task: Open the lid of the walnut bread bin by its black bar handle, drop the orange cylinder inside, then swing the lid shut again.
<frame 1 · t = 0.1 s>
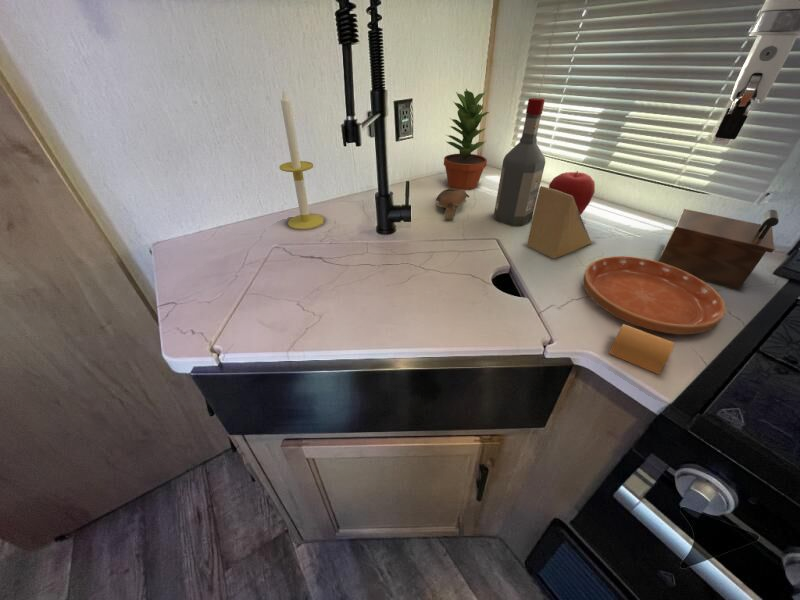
hand: (726, 134, 70), 26 cm above the worktop, tool pointing down, fingers open, 9 cm apart
saucer: (642, 302, 68), on the worktop
candle: (306, 222, 98), on the worktop
orange cylinder: (635, 355, 56), on the worktop
toy tortoise: (451, 208, 107), on the worktop
bread bin: (698, 266, 79), on the worktop
sandwich container: (559, 244, 88), on the worktop
liquor: (512, 219, 100), on the worktop
potted plant: (461, 185, 125), on the worktop
bread lid: (729, 218, 72), point 12 cm above the worktop, hinge at 0.0°
apple: (562, 218, 101), on the worktop
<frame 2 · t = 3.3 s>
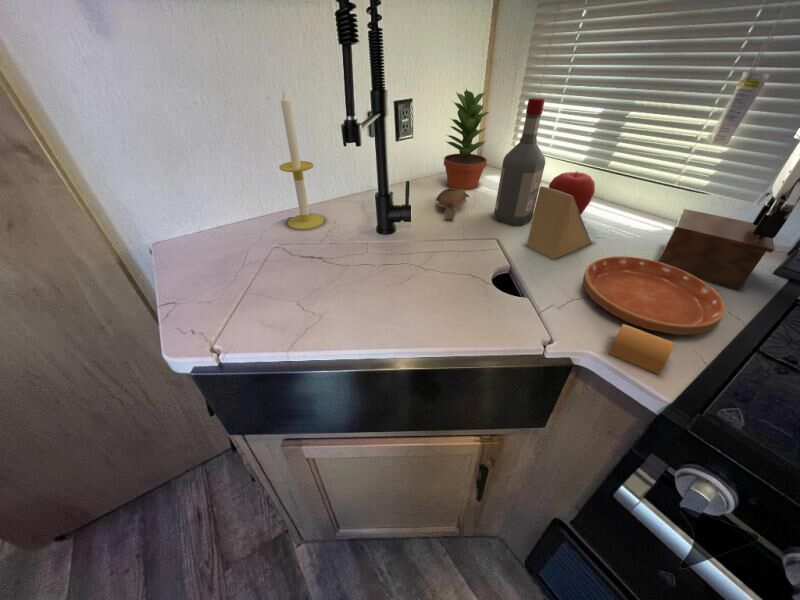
hand: (763, 229, 69), 11 cm above the worktop, tool pointing down, fingers closed on bread lid, 5 cm apart
bread lid: (729, 218, 72), point 12 cm above the worktop, hinge at 0.0°, touching gripper
everything else where it was.
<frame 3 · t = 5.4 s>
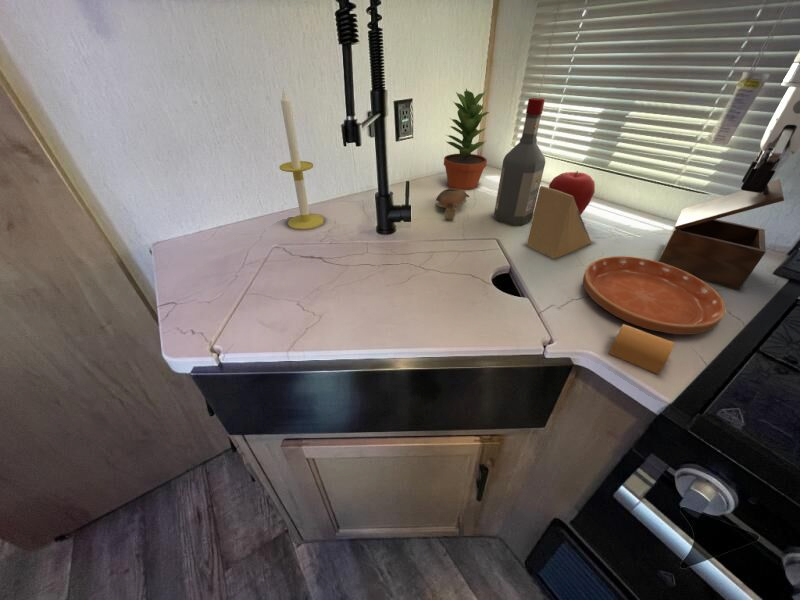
hand: (751, 186, 68), 18 cm above the worktop, tool pointing down, fingers closed on bread lid, 5 cm apart
bread lid: (723, 195, 71), point 16 cm above the worktop, hinge at 36.8°, touching gripper
everything else where it was.
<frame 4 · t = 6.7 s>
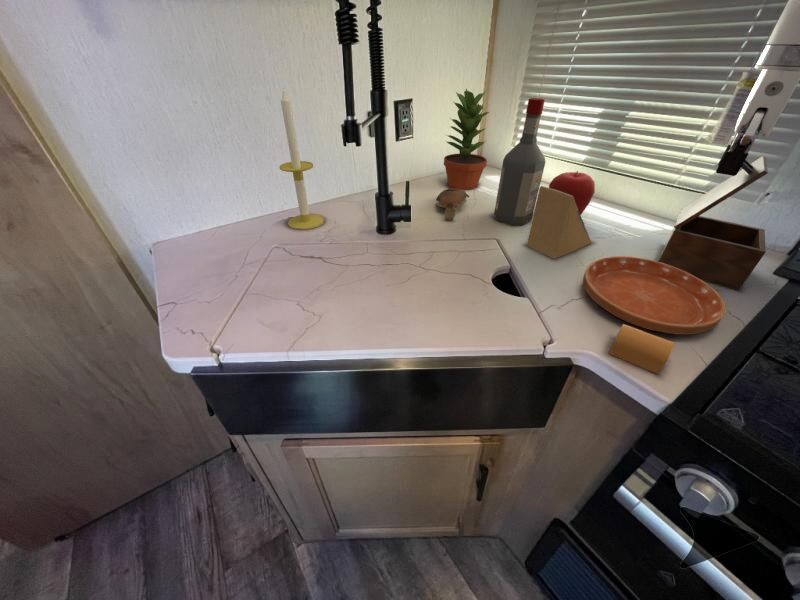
hand: (726, 169, 69), 21 cm above the worktop, tool pointing down, fingers closed on bread lid, 5 cm apart
bread lid: (710, 186, 71), point 17 cm above the worktop, hinge at 57.7°, touching gripper
everything else where it was.
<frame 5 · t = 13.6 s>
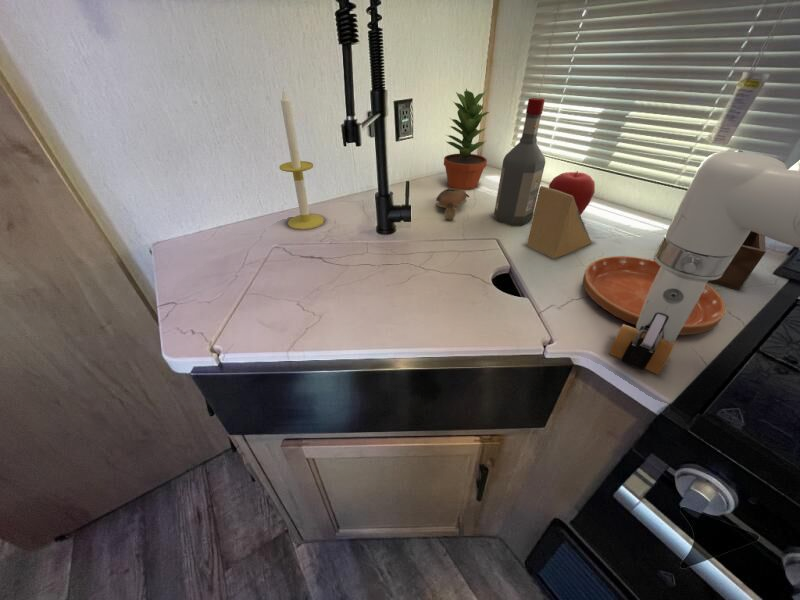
hand: (636, 354, 56), 0 cm above the worktop, tool pointing down, fingers closed on orange cylinder, 4 cm apart
orange cylinder: (635, 356, 56), on the worktop, touching gripper
bread lid: (710, 186, 71), point 17 cm above the worktop, hinge at 57.8°
everything else where it was.
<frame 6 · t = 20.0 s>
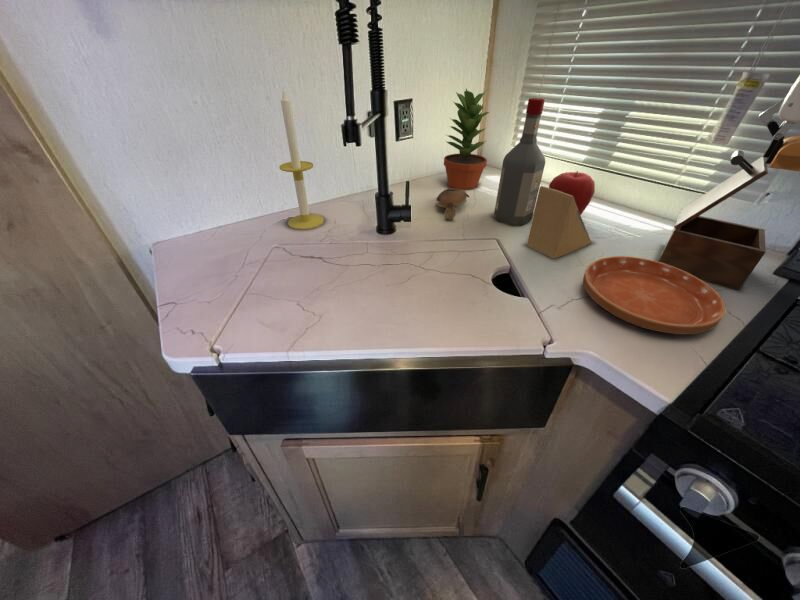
hand: (786, 163, 63), 23 cm above the worktop, tool pointing down, fingers closed on orange cylinder, 4 cm apart
orange cylinder: (784, 165, 64), point 23 cm above the worktop, touching gripper
everything else where it was.
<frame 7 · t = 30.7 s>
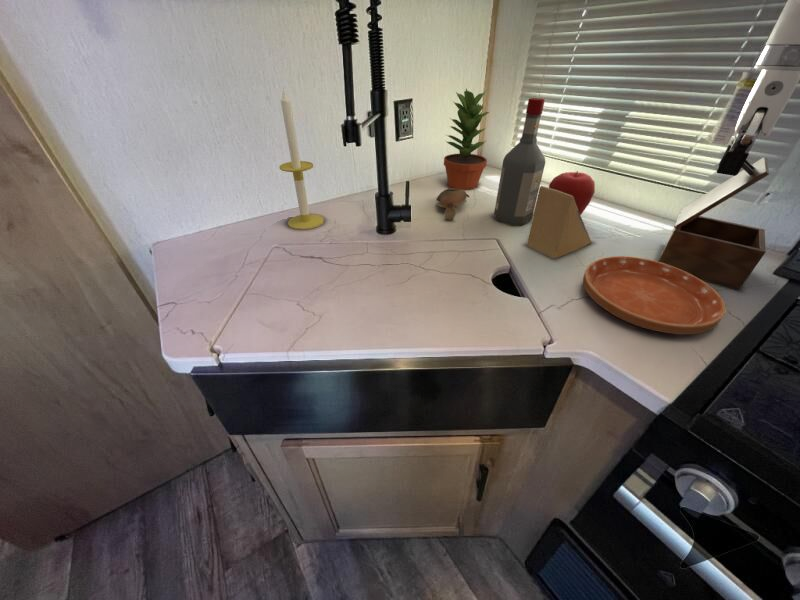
hand: (727, 169, 69), 21 cm above the worktop, tool pointing down, fingers closed on bread lid, 5 cm apart
orange cylinder: (689, 259, 79), point 1 cm above the worktop, touching bread bin
bread lid: (711, 186, 71), point 17 cm above the worktop, hinge at 56.6°, touching gripper
everything else where it was.
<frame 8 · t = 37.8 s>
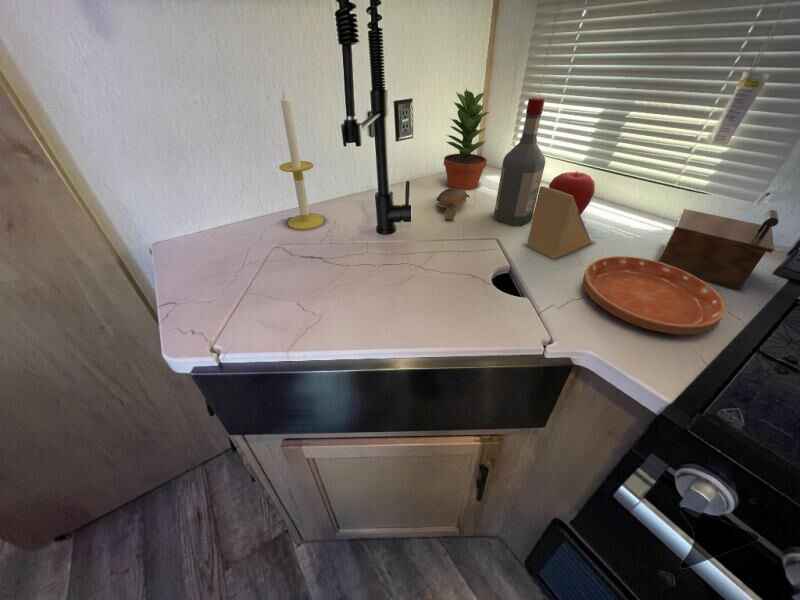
bread lid: (728, 218, 72), point 12 cm above the worktop, hinge at -0.2°, touching bread bin
everything else where it was.
at the end: orange cylinder inside the target area in the bread bin (2.0 cm from its centre), point 0.9 cm above the bread bin's base; bread lid at +0° (first picture: +0°) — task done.
